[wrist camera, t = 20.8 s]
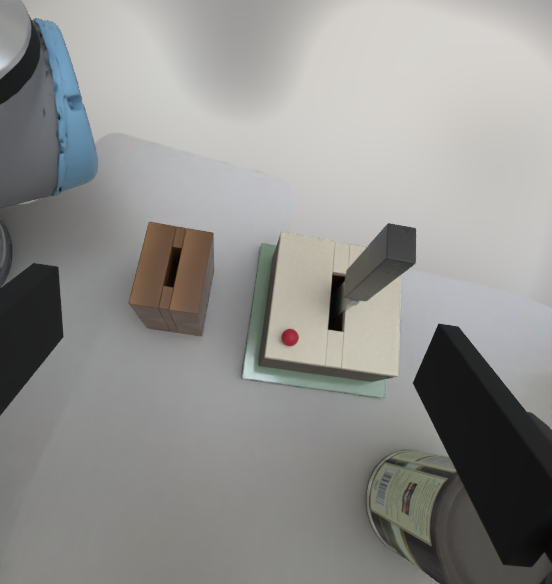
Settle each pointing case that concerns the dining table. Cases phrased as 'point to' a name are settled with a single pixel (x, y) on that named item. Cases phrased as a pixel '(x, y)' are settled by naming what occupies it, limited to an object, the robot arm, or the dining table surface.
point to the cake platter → (286, 376)
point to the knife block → (174, 279)
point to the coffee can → (437, 522)
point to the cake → (326, 315)
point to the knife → (375, 268)
